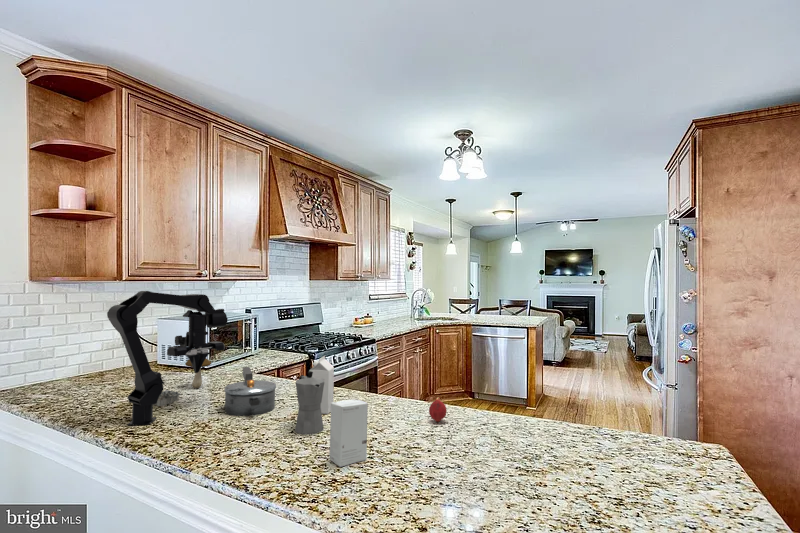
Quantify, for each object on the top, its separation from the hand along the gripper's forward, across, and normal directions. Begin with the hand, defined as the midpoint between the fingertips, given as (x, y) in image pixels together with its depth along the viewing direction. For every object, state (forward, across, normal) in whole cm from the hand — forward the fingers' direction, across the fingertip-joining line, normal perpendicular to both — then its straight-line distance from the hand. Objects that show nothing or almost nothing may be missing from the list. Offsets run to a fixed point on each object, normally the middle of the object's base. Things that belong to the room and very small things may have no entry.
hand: (196, 372), depth 156 cm
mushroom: (+13, -17, -28) cm, 36 cm away
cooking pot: (+13, -12, +15) cm, 23 cm away
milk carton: (+13, -25, +37) cm, 47 cm away
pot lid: (+6, -15, +10) cm, 19 cm away
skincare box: (+13, +1, +74) cm, 75 cm away
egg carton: (+14, +2, -18) cm, 23 cm away
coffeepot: (+13, -10, +47) cm, 50 cm away
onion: (+13, -39, +77) cm, 87 cm away
